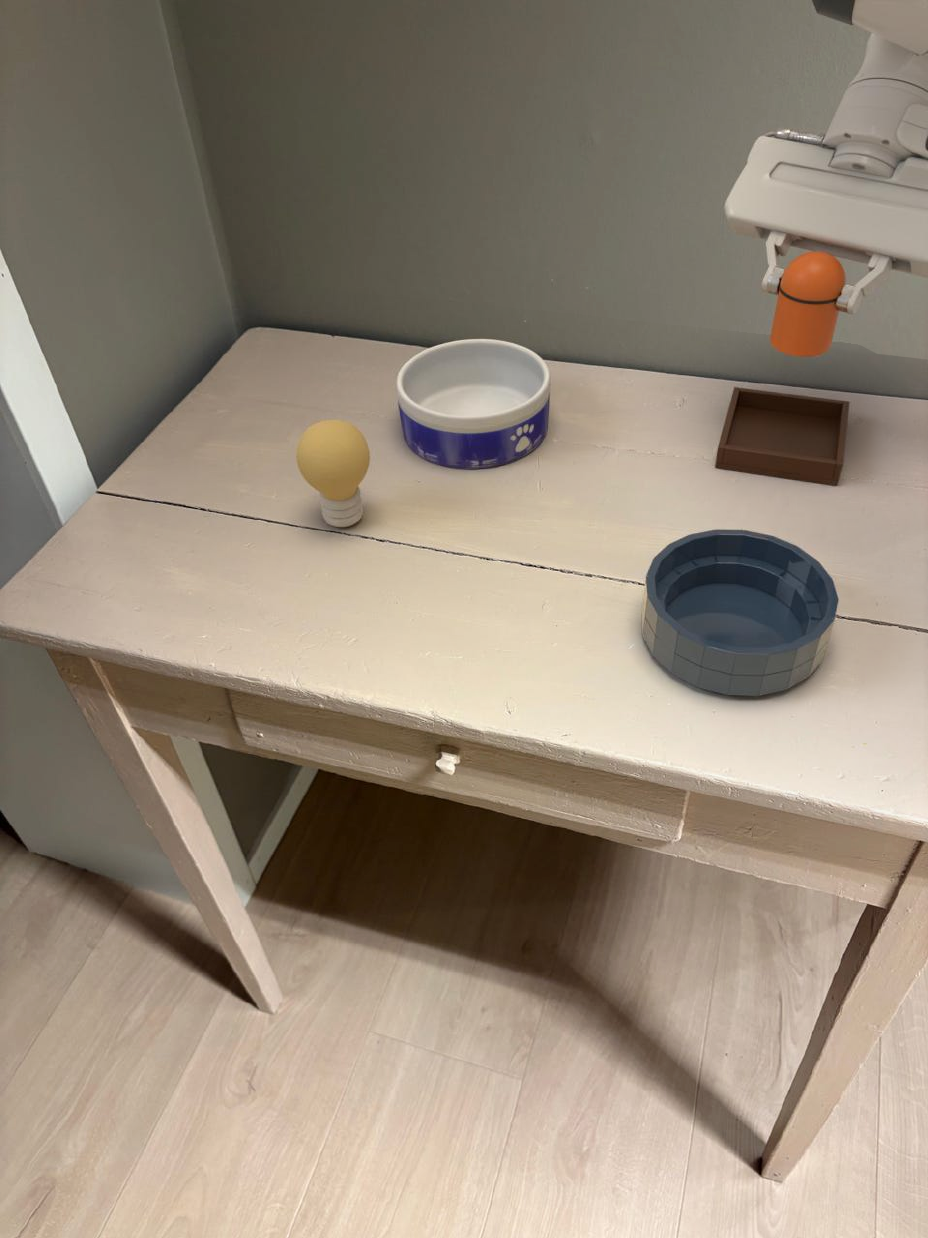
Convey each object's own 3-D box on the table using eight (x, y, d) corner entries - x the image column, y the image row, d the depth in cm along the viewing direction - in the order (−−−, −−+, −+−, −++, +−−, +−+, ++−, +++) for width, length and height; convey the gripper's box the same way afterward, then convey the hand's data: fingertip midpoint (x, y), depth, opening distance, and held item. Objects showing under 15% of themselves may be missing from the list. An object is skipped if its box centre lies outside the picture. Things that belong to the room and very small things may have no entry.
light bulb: (310, 501, 91) (292, 409, 84) (377, 495, 91) (365, 403, 84) (308, 543, 86) (289, 450, 80) (379, 537, 87) (365, 443, 80)
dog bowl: (491, 488, 91) (489, 434, 87) (370, 439, 98) (363, 387, 94) (578, 415, 100) (580, 363, 95) (461, 375, 107) (458, 324, 102)
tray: (844, 422, 96) (849, 401, 95) (837, 486, 89) (843, 464, 87) (730, 407, 99) (734, 386, 98) (714, 467, 92) (718, 446, 90)
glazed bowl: (862, 651, 74) (879, 604, 70) (724, 729, 69) (734, 682, 65) (736, 554, 83) (745, 508, 79) (605, 617, 78) (609, 571, 74)
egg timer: (844, 345, 84) (866, 256, 79) (800, 363, 82) (819, 273, 77) (799, 322, 87) (818, 235, 82) (756, 339, 86) (772, 251, 80)
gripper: (756, 103, 82) (687, 257, 84) (1007, 144, 73) (925, 316, 74) (769, 143, 88) (705, 286, 89) (1004, 185, 78) (928, 345, 80)
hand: (807, 300), depth 82 cm, fingers closed on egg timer, 5 cm apart
